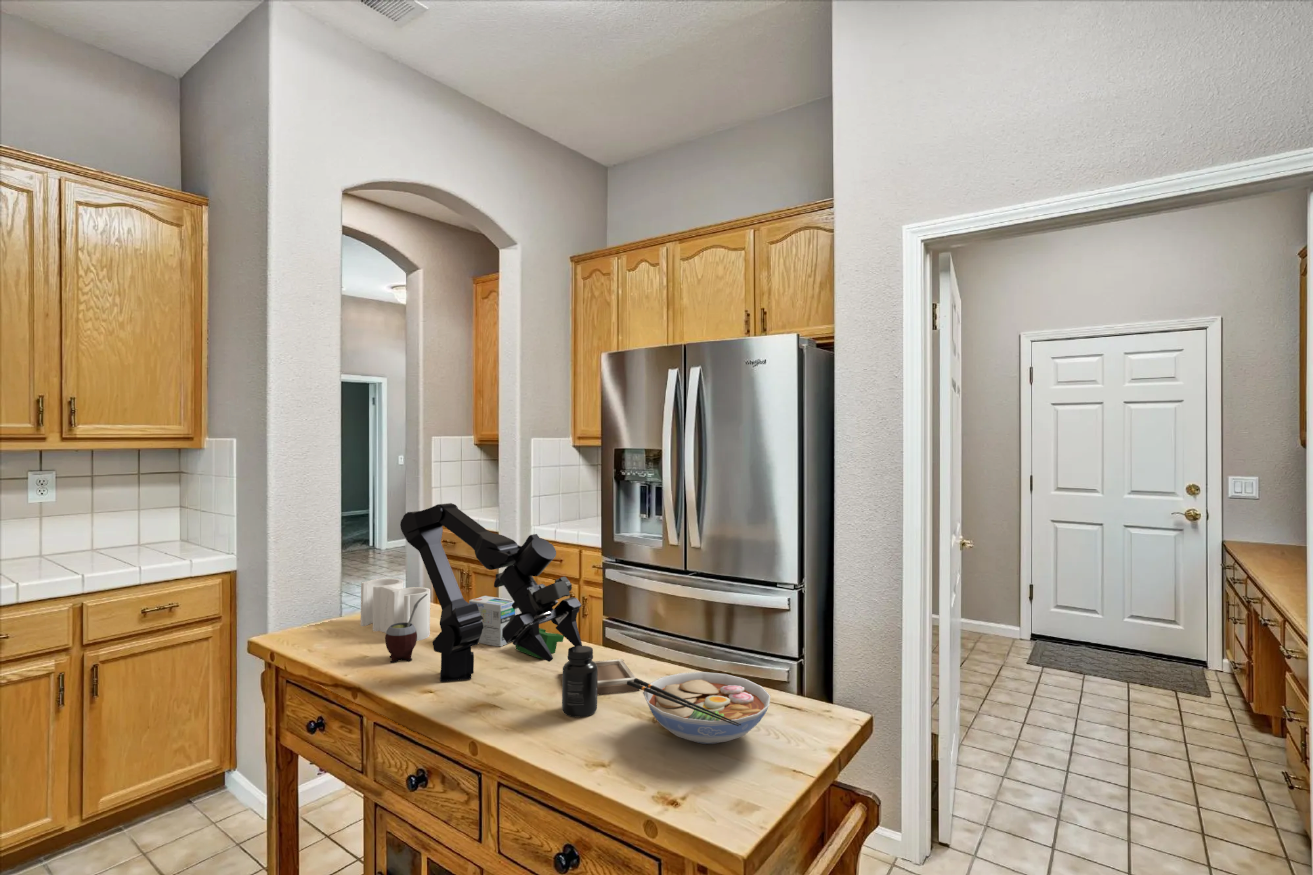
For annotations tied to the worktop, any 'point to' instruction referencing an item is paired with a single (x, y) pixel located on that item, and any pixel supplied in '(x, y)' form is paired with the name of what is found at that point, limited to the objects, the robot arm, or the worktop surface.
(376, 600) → the white piece
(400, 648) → the mate gourd
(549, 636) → the clamp
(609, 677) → the beige square tray
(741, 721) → the ramen bowl
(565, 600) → the robot arm
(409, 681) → the worktop surface
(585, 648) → the supplement bottle
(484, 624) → the light bulb box
